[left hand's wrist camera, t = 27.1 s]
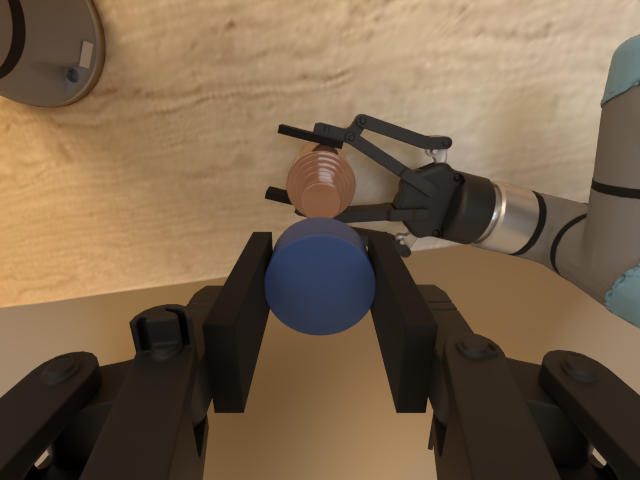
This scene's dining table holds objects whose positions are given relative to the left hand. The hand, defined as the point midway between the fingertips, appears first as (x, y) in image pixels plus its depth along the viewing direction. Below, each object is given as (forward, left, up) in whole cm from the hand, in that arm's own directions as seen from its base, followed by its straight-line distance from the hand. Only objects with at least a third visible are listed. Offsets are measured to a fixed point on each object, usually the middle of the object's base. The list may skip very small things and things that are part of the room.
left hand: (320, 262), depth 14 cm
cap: (0, 0, +2) cm, 2 cm away
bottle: (0, 0, -30) cm, 30 cm away
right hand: (-5, +1, -23) cm, 24 cm away
